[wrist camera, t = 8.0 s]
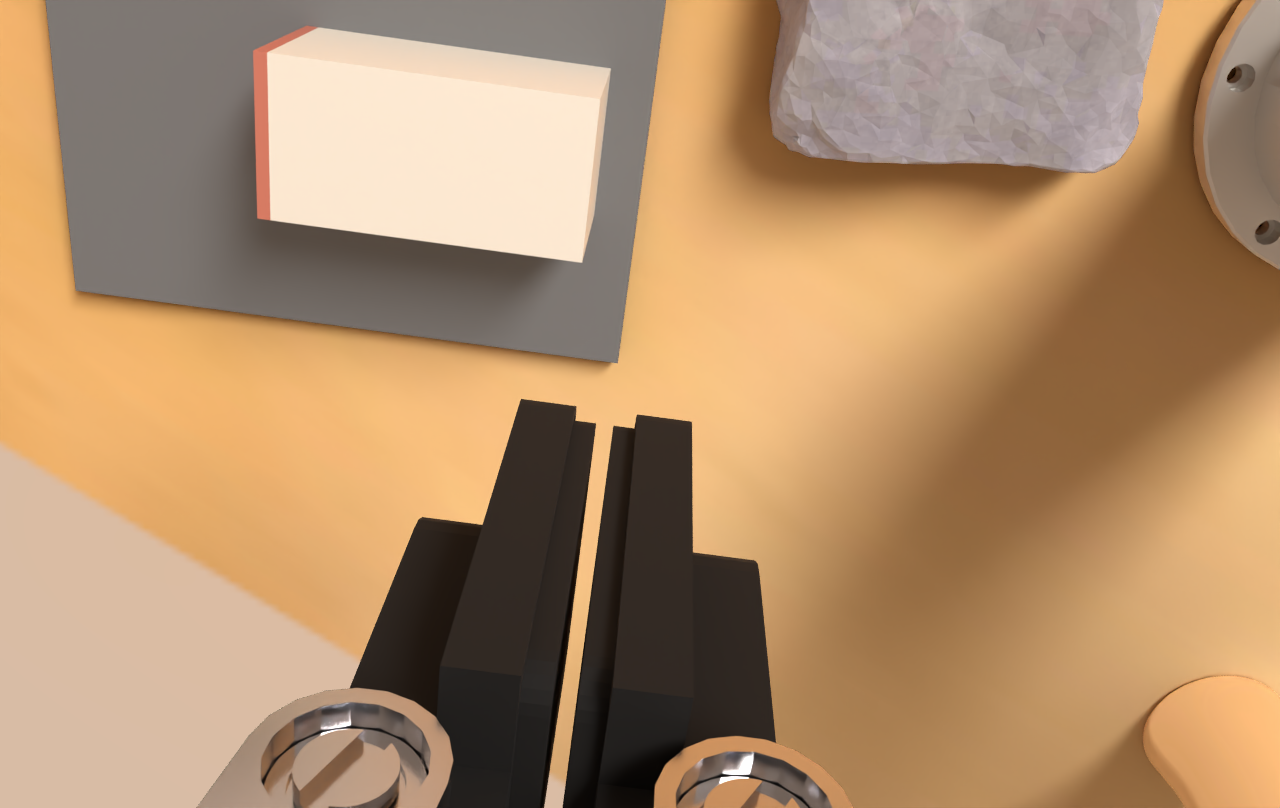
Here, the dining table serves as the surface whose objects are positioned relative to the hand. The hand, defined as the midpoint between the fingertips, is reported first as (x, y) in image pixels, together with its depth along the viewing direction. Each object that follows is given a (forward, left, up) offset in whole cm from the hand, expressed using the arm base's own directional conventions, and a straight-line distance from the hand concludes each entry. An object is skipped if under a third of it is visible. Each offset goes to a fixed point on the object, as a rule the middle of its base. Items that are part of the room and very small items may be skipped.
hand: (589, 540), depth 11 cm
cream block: (+12, +3, -26) cm, 28 cm away
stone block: (-9, -3, -30) cm, 31 cm away
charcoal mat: (+10, +3, -29) cm, 31 cm away
